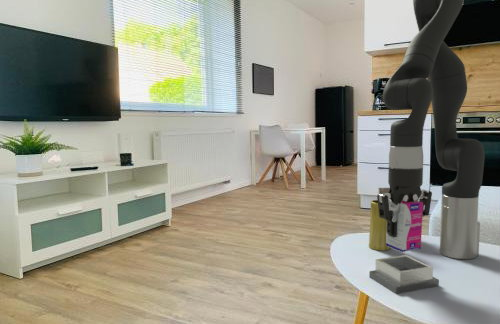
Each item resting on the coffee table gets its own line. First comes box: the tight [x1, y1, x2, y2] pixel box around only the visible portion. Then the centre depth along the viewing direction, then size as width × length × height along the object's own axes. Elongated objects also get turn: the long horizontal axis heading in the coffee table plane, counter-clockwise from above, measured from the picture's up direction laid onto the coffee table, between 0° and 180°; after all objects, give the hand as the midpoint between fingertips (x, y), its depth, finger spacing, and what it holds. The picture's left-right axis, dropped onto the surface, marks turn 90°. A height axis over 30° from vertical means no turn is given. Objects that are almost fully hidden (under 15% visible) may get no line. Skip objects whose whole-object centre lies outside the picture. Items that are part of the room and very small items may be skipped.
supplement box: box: [386, 200, 423, 253], centre depth 93 cm, size 6×6×12 cm
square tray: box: [368, 254, 440, 295], centre depth 94 cm, size 12×10×4 cm
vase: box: [368, 199, 391, 251], centre depth 118 cm, size 6×6×14 cm
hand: (403, 234), depth 93 cm, fingers closed on supplement box, 6 cm apart
